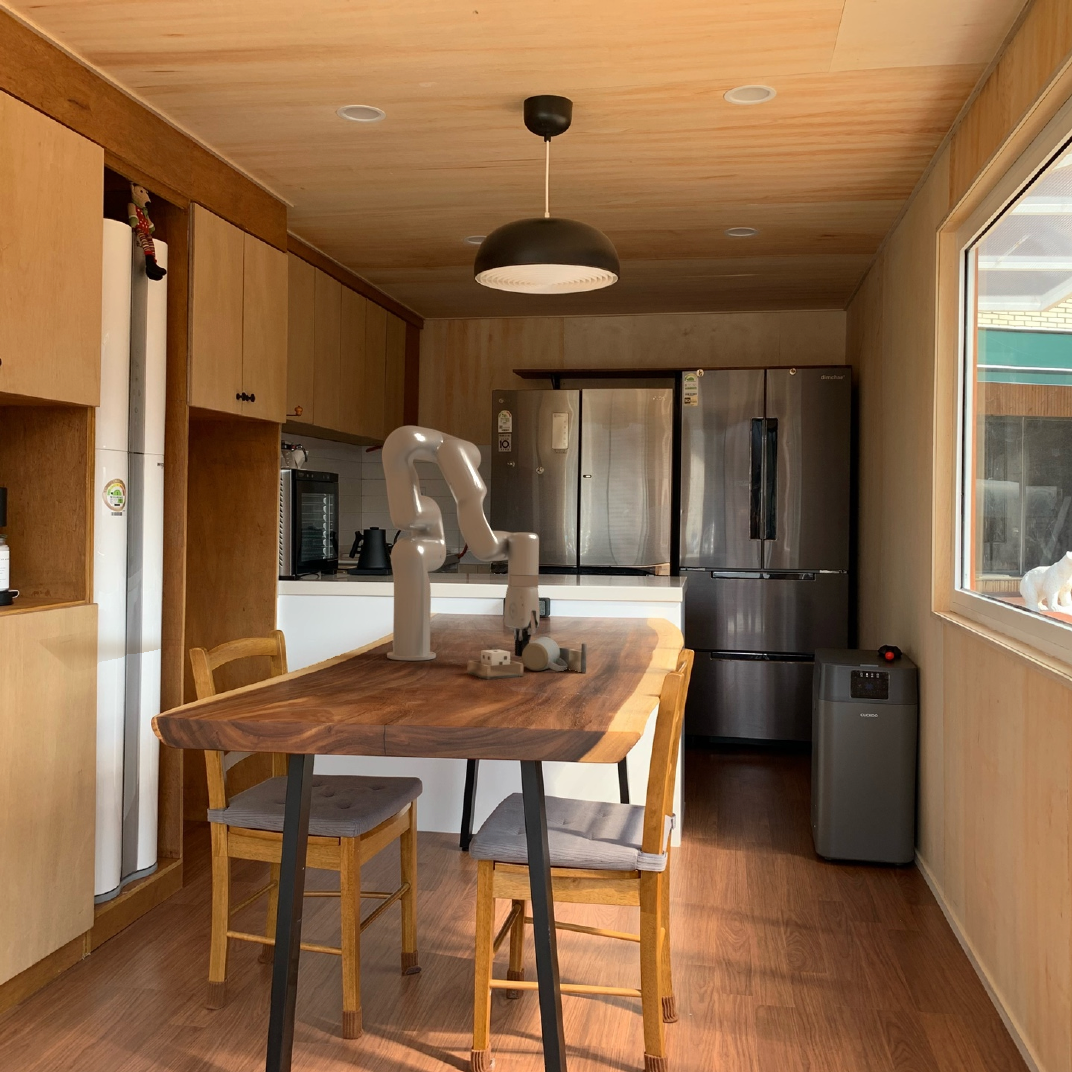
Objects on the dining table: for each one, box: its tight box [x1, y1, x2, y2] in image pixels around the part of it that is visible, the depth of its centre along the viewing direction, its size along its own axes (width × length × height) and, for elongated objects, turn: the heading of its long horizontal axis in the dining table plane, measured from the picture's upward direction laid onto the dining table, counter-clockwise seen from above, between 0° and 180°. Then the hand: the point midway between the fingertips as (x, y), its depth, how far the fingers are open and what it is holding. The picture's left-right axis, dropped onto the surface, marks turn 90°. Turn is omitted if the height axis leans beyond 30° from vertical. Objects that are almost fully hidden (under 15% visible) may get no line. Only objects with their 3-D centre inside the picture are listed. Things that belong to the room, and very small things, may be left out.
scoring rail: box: [546, 635, 588, 674], centre depth 257 cm, size 17×1×7 cm, turn 32°
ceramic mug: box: [521, 636, 568, 672], centre depth 254 cm, size 11×8×8 cm
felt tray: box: [466, 659, 524, 680], centre depth 244 cm, size 10×10×3 cm
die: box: [480, 648, 511, 666], centre depth 244 cm, size 5×5×5 cm
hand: (521, 655), depth 259 cm, fingers closed
